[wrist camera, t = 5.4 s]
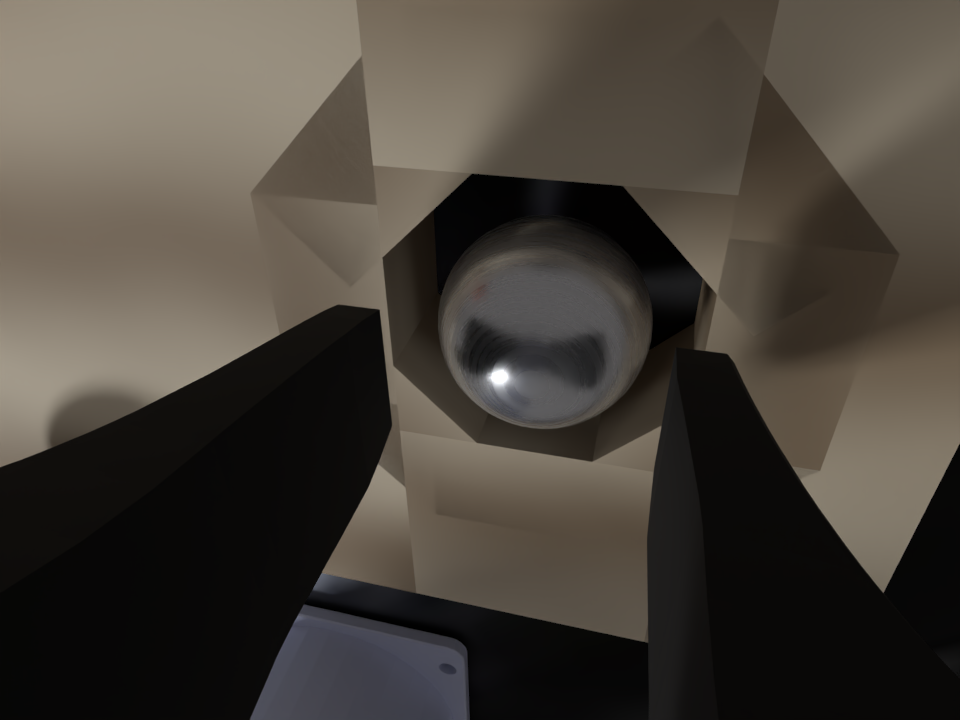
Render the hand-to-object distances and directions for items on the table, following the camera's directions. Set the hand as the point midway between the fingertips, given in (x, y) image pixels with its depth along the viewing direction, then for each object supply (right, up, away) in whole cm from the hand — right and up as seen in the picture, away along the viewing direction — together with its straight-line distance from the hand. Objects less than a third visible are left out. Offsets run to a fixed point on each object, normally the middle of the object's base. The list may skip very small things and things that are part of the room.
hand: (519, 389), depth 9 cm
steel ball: (0, +1, +1) cm, 2 cm away
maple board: (-3, +3, +4) cm, 6 cm away
